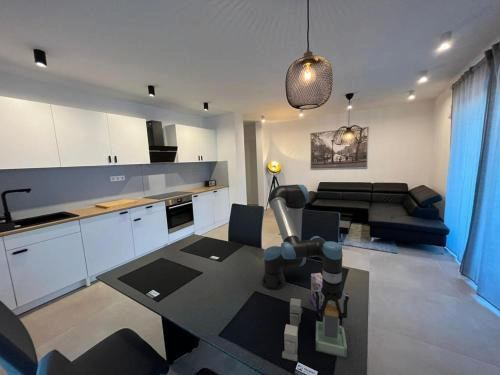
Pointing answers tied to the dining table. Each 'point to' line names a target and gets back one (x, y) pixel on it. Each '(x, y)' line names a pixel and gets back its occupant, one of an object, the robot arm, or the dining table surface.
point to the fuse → (331, 320)
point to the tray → (331, 341)
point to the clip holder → (290, 346)
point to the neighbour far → (296, 306)
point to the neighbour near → (291, 335)
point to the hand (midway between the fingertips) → (330, 328)
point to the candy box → (317, 284)
